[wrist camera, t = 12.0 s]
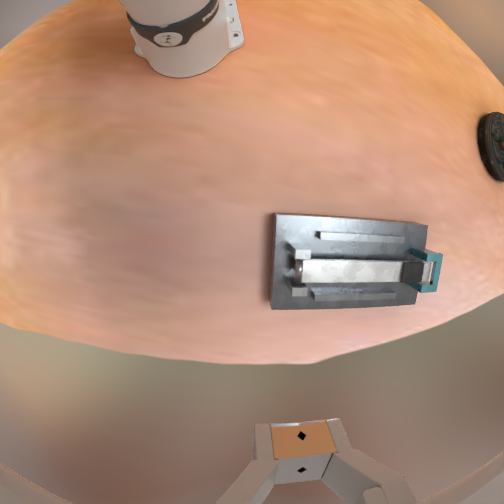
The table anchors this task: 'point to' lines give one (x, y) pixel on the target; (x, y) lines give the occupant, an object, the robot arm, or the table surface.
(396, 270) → the silver long bar
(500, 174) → the beer stein
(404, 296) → the grey mechanical fixture
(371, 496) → the robot arm
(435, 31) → the table surface
